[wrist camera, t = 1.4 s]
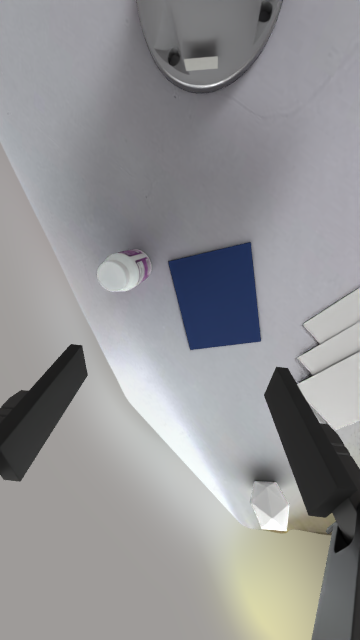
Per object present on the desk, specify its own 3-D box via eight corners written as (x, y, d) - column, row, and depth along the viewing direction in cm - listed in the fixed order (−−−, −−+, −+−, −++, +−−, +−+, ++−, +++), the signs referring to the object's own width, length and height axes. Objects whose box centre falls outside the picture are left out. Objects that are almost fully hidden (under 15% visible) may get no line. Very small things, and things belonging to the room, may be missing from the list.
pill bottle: (117, 267, 35) (84, 279, 26) (132, 242, 33) (102, 245, 24) (142, 287, 36) (118, 305, 27) (158, 263, 34) (138, 274, 25)
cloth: (168, 261, 33) (168, 261, 33) (250, 242, 30) (250, 242, 30) (190, 349, 39) (190, 349, 39) (260, 340, 36) (261, 341, 36)
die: (247, 491, 55) (276, 539, 48) (236, 493, 49) (267, 548, 42) (270, 470, 55) (303, 515, 47) (261, 470, 49) (298, 521, 41)
